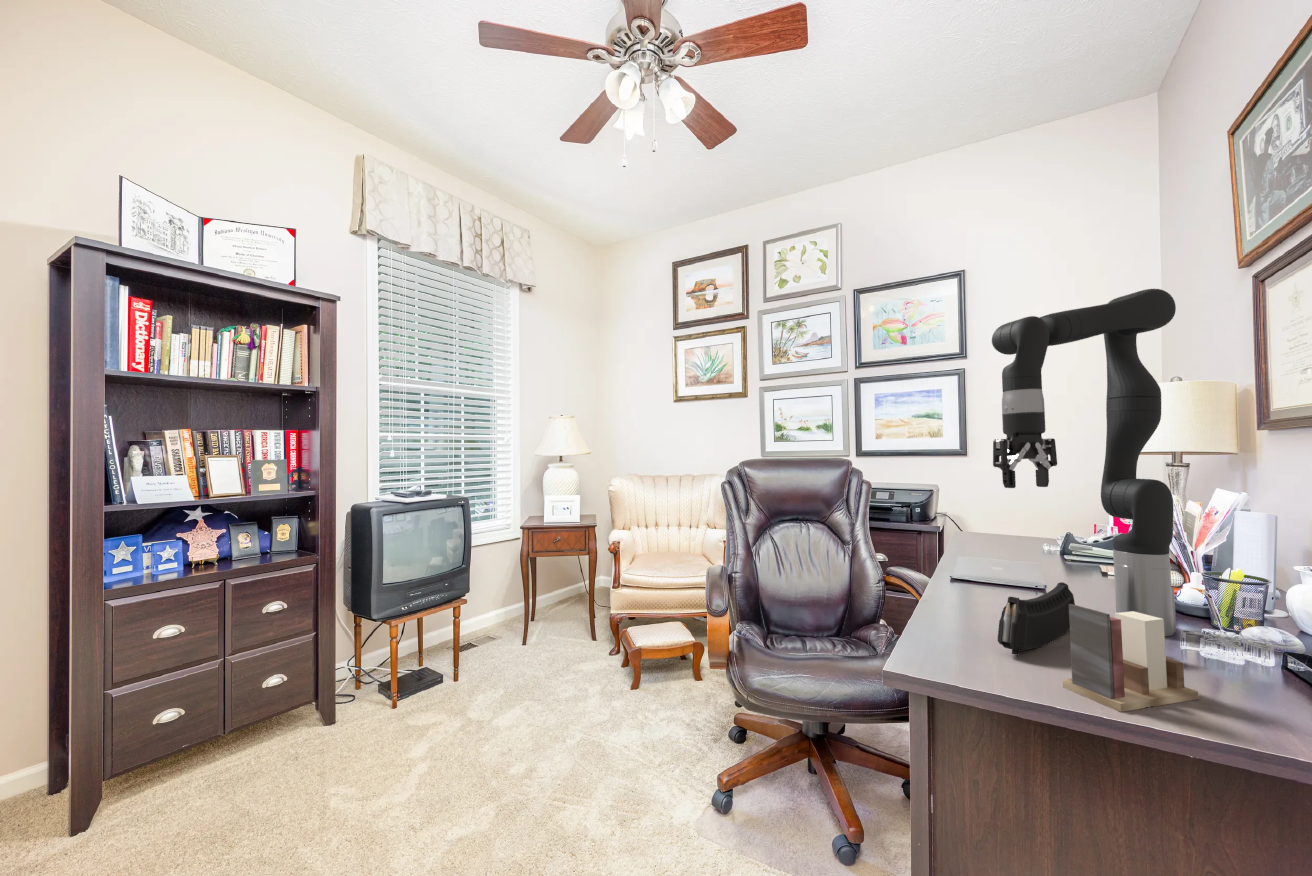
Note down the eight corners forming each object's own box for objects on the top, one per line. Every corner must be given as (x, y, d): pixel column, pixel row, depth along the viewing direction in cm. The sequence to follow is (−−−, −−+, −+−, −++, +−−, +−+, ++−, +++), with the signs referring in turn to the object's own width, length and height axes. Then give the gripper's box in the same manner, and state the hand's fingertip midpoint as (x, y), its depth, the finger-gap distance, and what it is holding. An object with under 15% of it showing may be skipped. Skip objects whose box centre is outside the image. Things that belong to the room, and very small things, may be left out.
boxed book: (1136, 676, 90) (1133, 611, 90) (1167, 687, 85) (1163, 618, 86) (1118, 679, 89) (1114, 613, 89) (1148, 690, 84) (1144, 621, 85)
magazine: (1063, 584, 121) (1003, 562, 106) (1080, 587, 119) (1022, 564, 103) (1058, 661, 118) (995, 650, 102) (1075, 666, 115) (1014, 655, 100)
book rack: (1135, 676, 92) (1131, 594, 93) (1198, 699, 84) (1193, 608, 84) (1062, 686, 89) (1058, 601, 89) (1120, 711, 80) (1116, 617, 80)
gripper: (1011, 410, 108) (1014, 489, 107) (1066, 410, 111) (1070, 487, 110) (980, 413, 115) (984, 487, 115) (1033, 413, 118) (1036, 485, 118)
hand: (1026, 487), depth 112 cm, fingers open, 8 cm apart
